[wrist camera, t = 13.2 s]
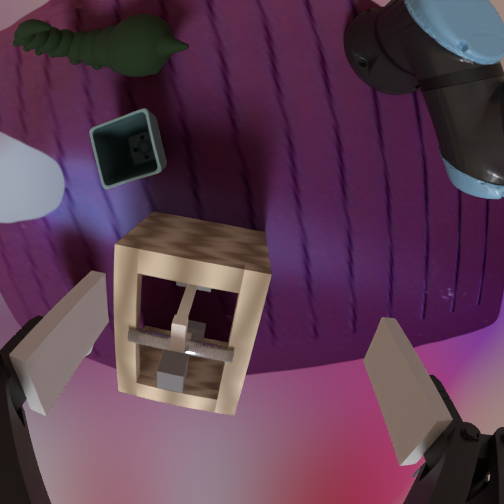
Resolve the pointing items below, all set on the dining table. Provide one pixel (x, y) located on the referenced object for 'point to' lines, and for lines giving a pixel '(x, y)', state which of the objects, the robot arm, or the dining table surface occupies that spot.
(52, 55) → the dark green tiered figure
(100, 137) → the flower pot
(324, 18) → the dining table surface
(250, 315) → the beige wooden frame
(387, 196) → the dining table surface
